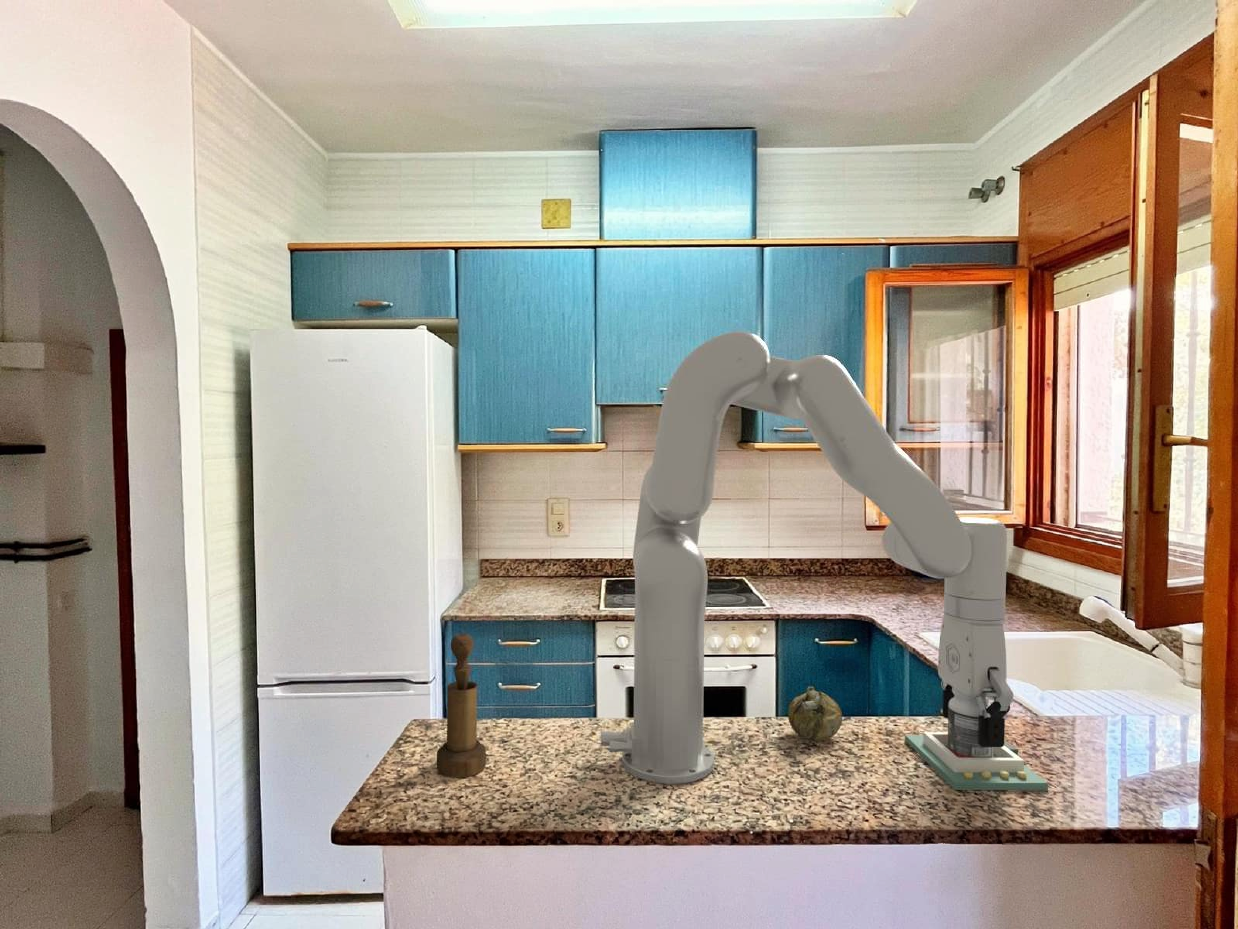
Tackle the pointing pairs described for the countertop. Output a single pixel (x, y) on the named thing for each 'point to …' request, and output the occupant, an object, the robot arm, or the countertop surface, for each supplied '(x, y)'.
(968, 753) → the pill bottle
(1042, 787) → the board
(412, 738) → the countertop surface
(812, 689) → the onion
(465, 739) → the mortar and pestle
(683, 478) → the robot arm
